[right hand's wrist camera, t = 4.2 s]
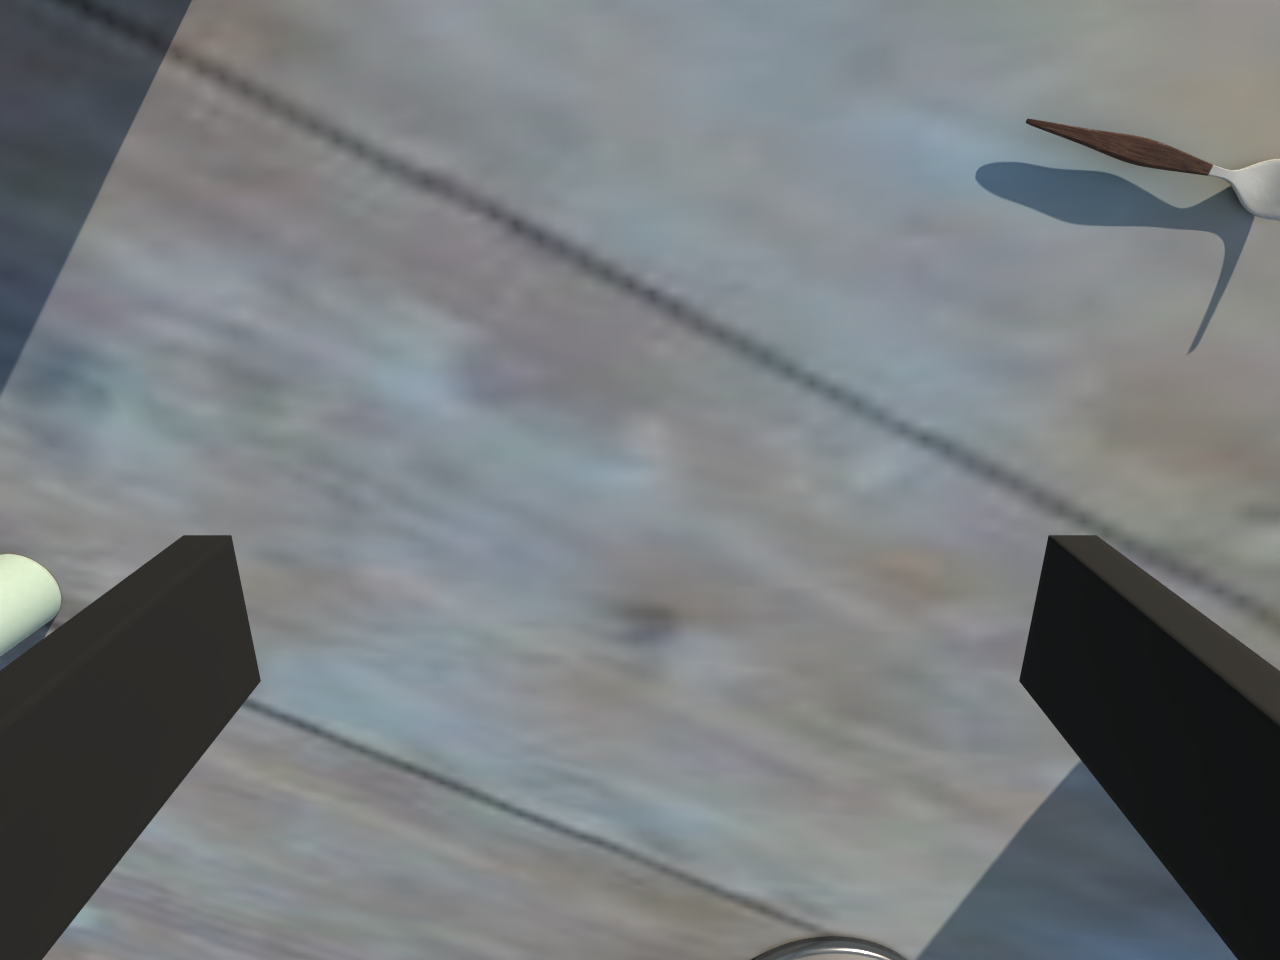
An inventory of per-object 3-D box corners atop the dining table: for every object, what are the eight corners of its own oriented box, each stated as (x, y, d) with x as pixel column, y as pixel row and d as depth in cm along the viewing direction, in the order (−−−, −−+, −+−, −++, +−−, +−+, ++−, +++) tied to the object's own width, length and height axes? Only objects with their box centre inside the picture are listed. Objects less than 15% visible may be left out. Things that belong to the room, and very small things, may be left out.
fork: (1032, 90, 35) (1054, 84, 33) (1347, 177, 36) (1386, 176, 34) (1010, 151, 36) (1030, 148, 34) (1318, 233, 37) (1355, 235, 35)
